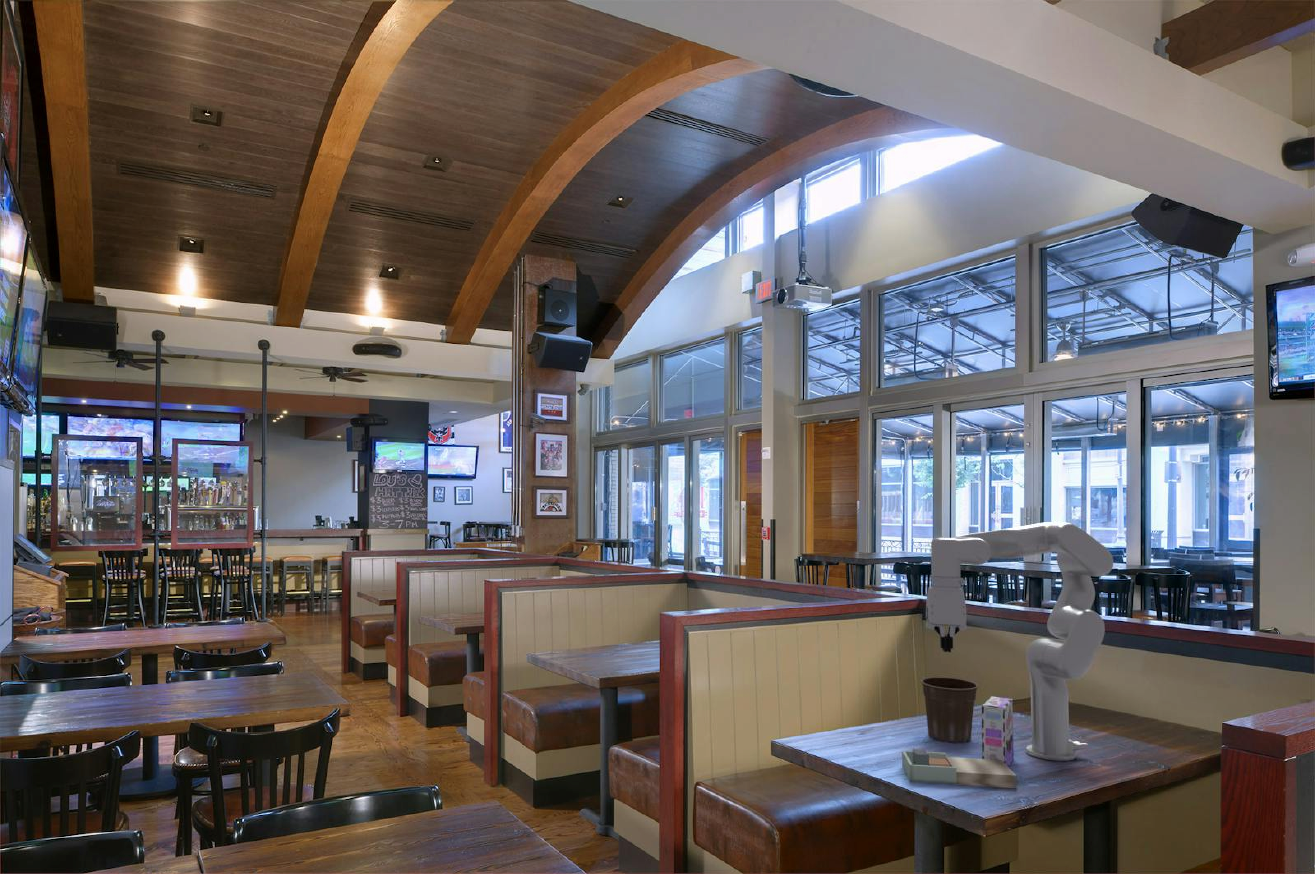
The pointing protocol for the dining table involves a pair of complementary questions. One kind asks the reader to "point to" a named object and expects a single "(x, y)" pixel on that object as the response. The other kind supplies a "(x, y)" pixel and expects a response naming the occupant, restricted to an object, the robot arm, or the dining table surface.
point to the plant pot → (949, 708)
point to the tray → (928, 770)
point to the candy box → (997, 730)
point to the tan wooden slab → (982, 772)
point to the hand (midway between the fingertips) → (946, 651)
